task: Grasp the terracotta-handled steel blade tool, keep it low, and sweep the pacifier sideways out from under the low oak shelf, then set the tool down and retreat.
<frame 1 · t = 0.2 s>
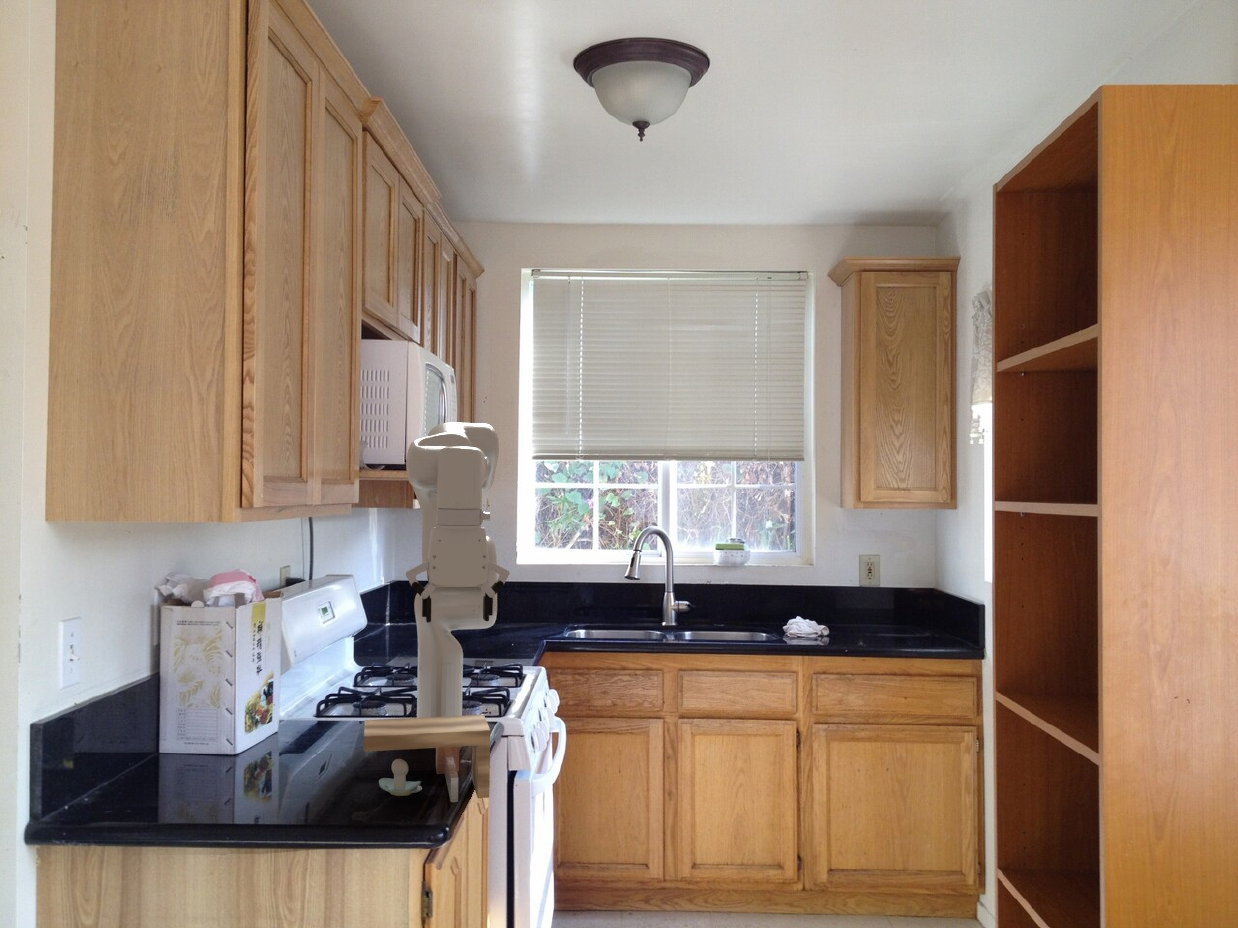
hand: (457, 620, 161), 31 cm above the counter, fingers open, 9 cm apart
blade tool: (447, 769, 178), on the counter
pacifier: (402, 793, 165), on the counter
oak shelf: (425, 791, 166), on the counter
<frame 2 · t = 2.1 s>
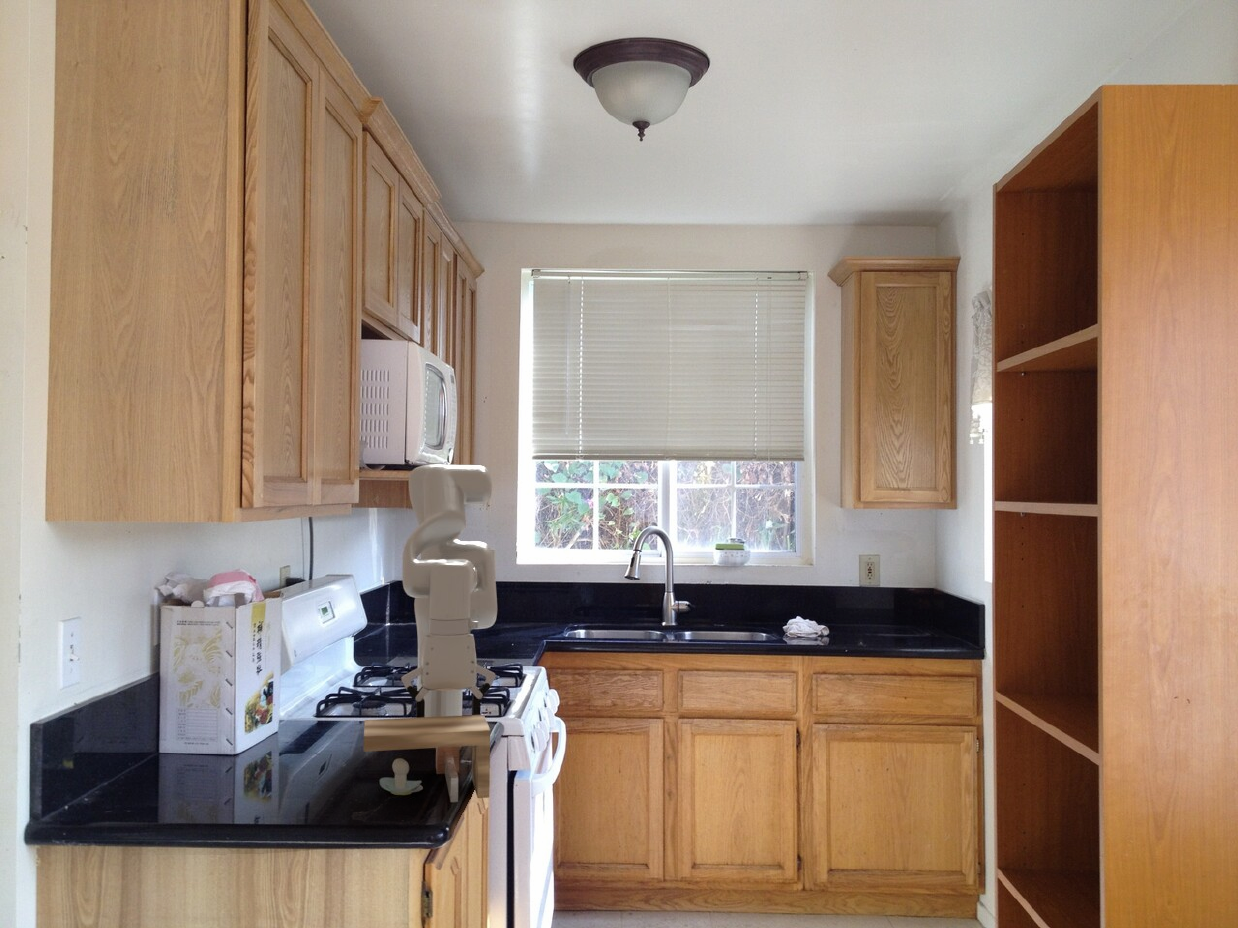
hand: (448, 720, 177), 9 cm above the counter, fingers open, 9 cm apart
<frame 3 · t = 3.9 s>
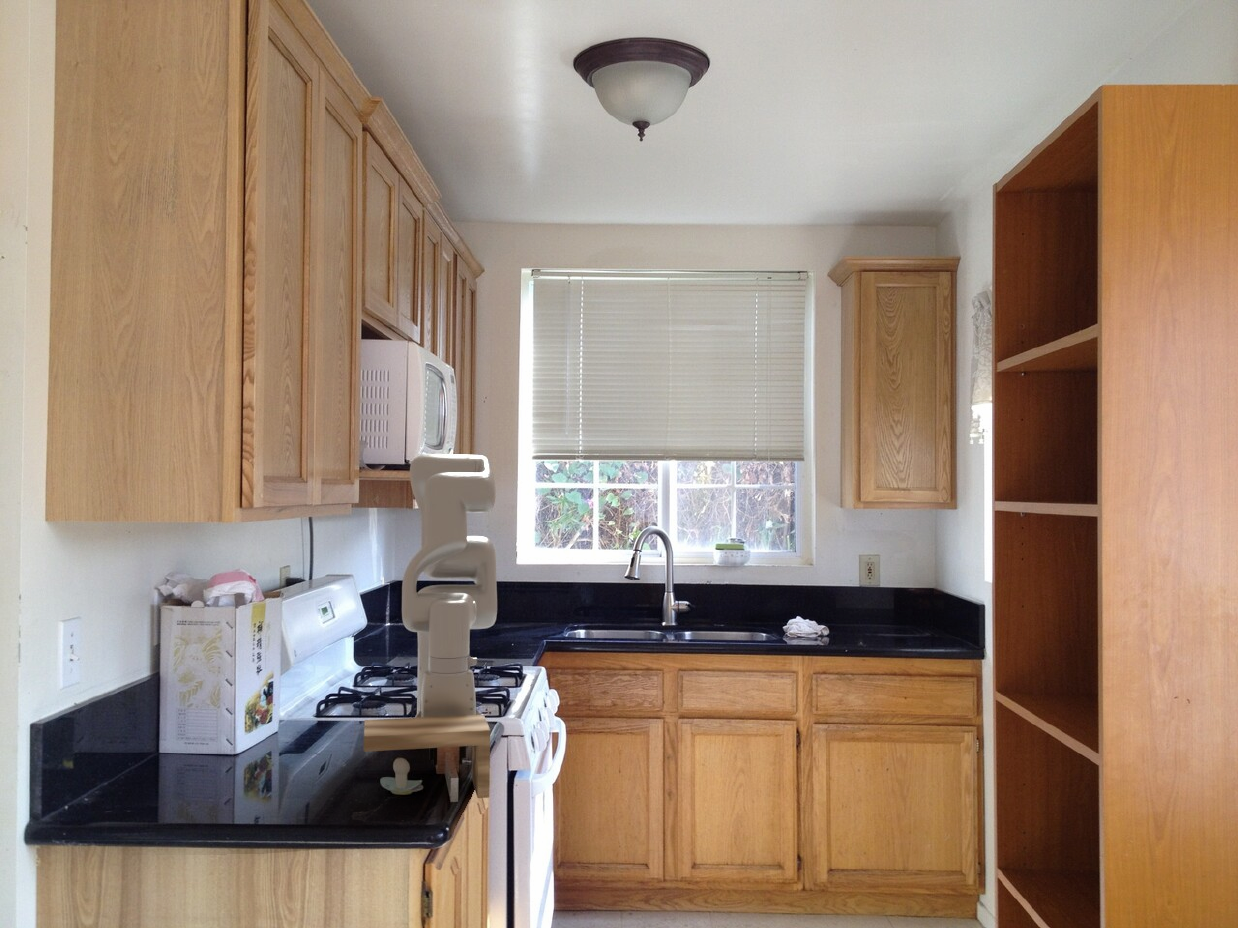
hand: (447, 761, 178), 2 cm above the counter, fingers closed on blade tool, 4 cm apart
blade tool: (447, 769, 178), on the counter, touching gripper
everything else where it was.
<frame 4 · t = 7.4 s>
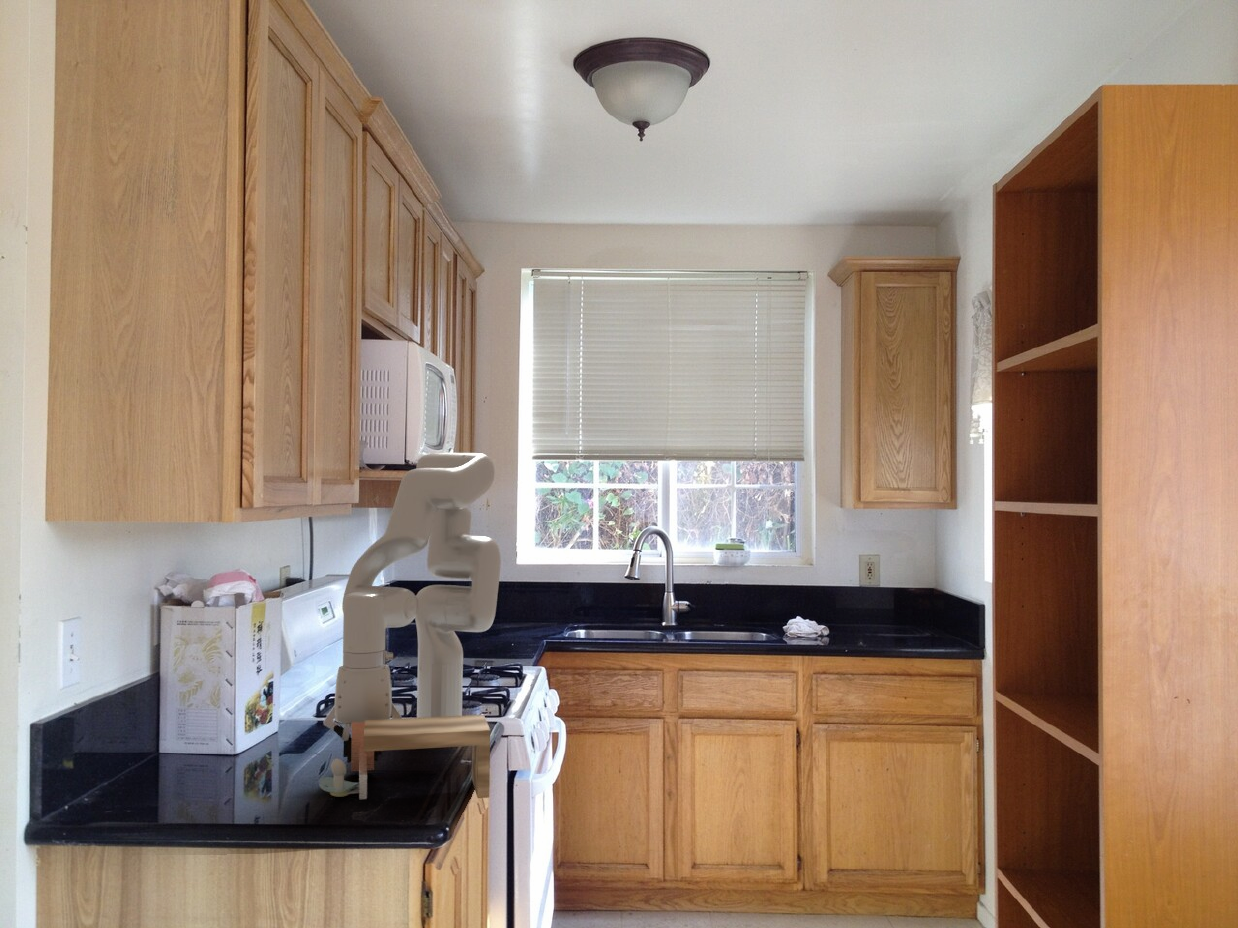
hand: (362, 758, 174), 3 cm above the counter, fingers closed on blade tool, 4 cm apart
blade tool: (362, 767, 174), point 1 cm above the counter, touching gripper, pacifier
pacifier: (342, 793, 164), on the counter, touching blade tool
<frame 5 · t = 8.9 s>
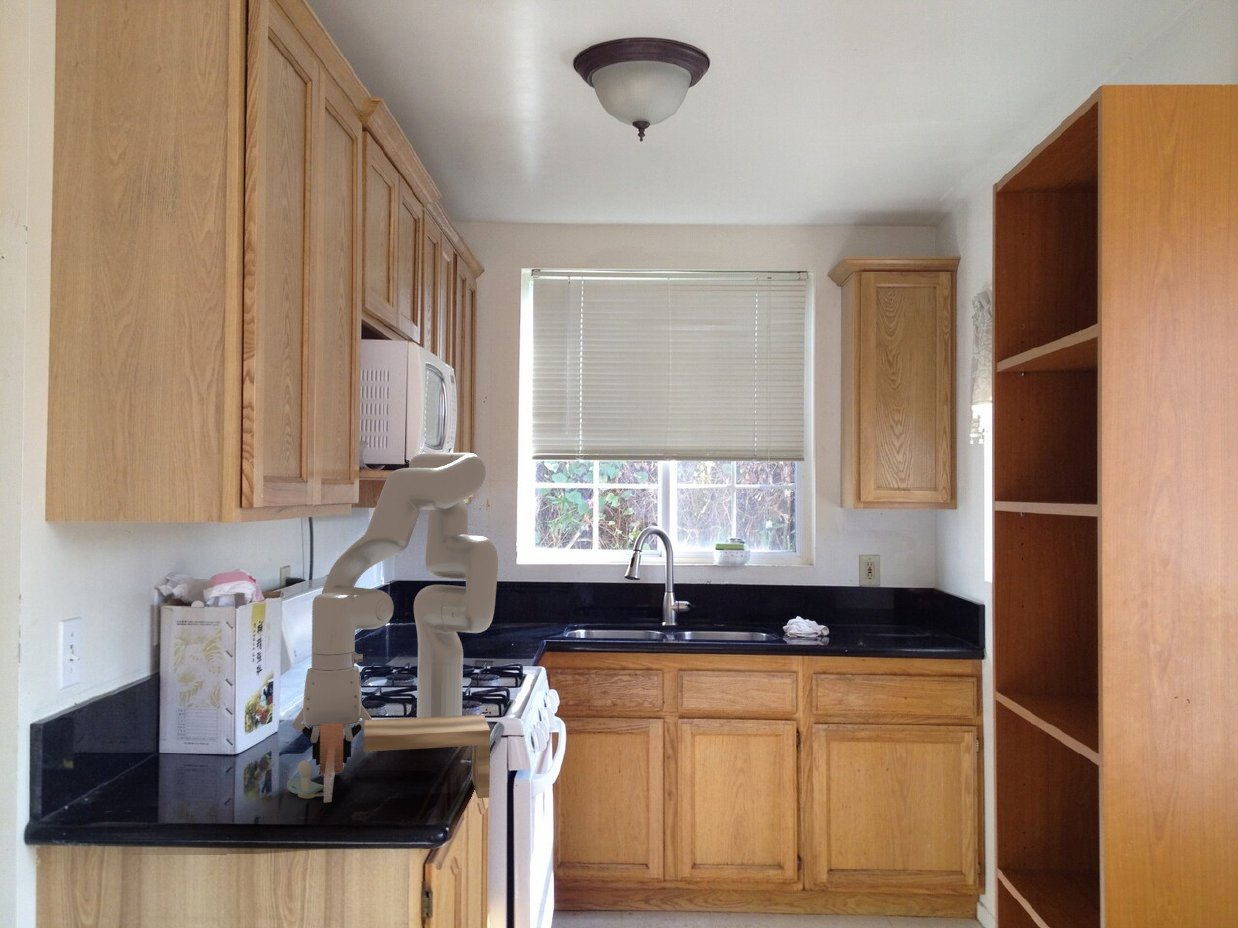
hand: (331, 760, 173), 3 cm above the counter, fingers closed on blade tool, 4 cm apart
blade tool: (331, 769, 173), point 1 cm above the counter, touching gripper
pacifier: (310, 796, 163), on the counter
when the fingers open (2 cm above the counter, at t = 10.5 s): blade tool stays where it is, on the counter.
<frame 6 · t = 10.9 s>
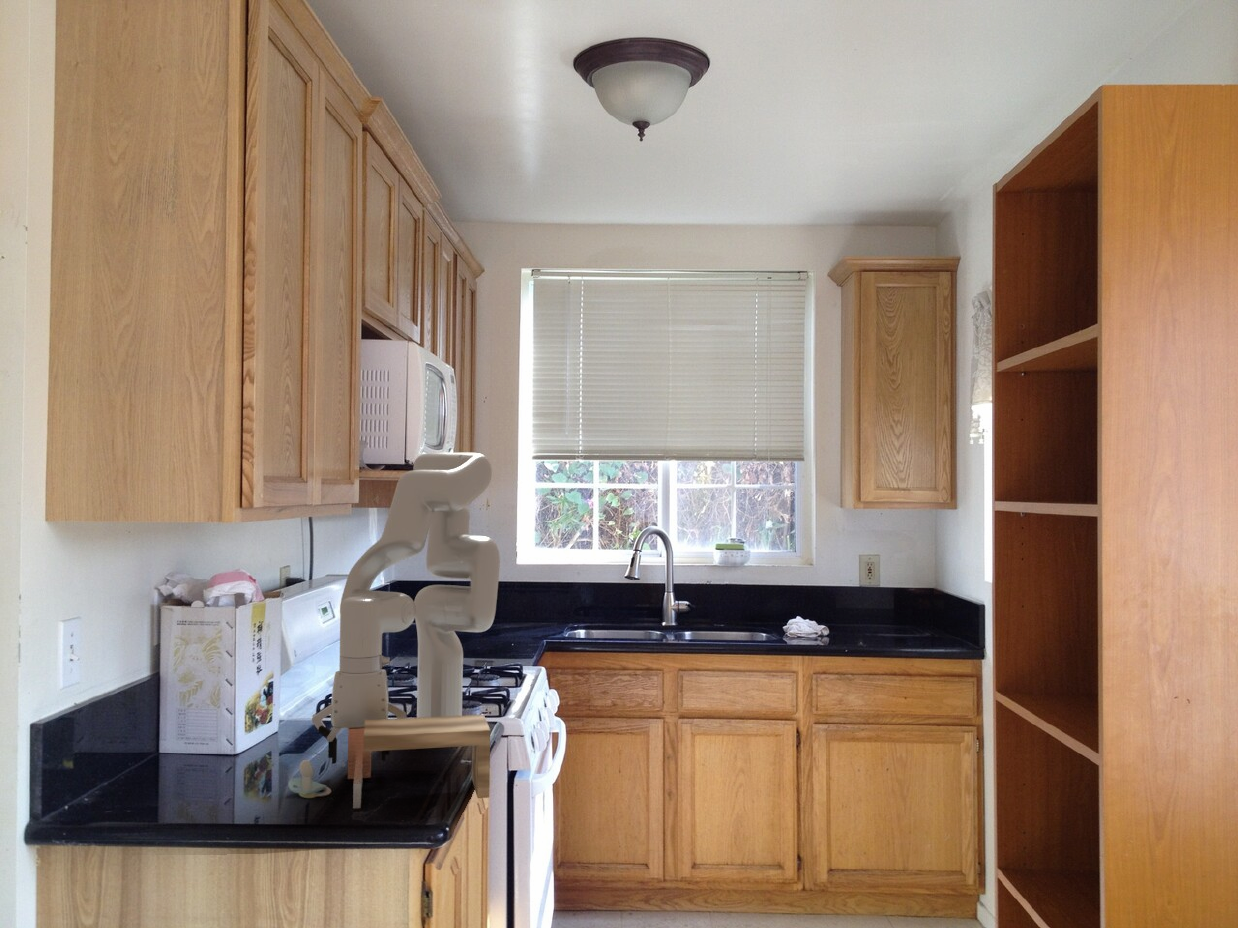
hand: (359, 759, 174), 3 cm above the counter, fingers open, 8 cm apart
blade tool: (359, 774, 174), on the counter
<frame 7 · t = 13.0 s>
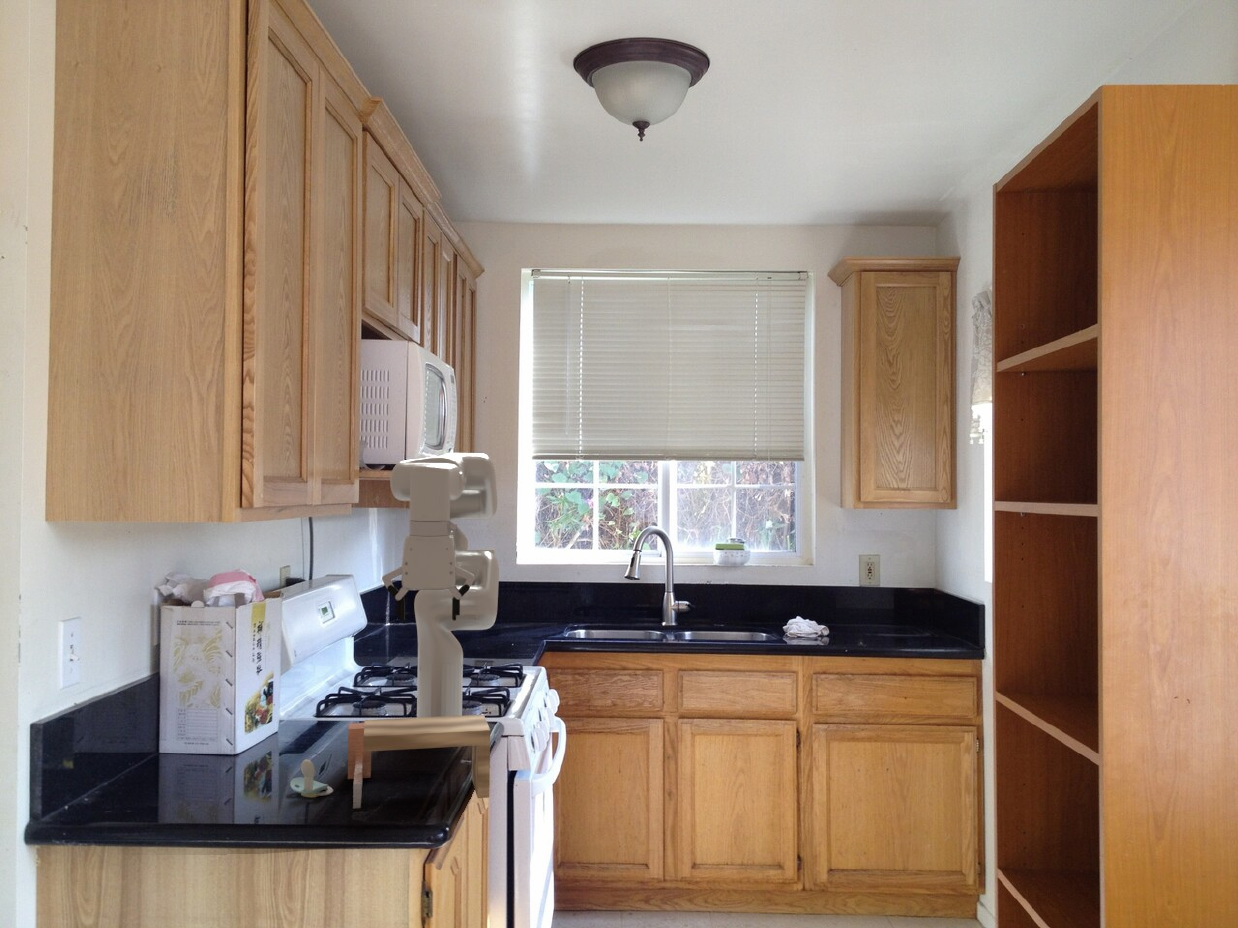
hand: (428, 619, 181), 28 cm above the counter, fingers open, 9 cm apart
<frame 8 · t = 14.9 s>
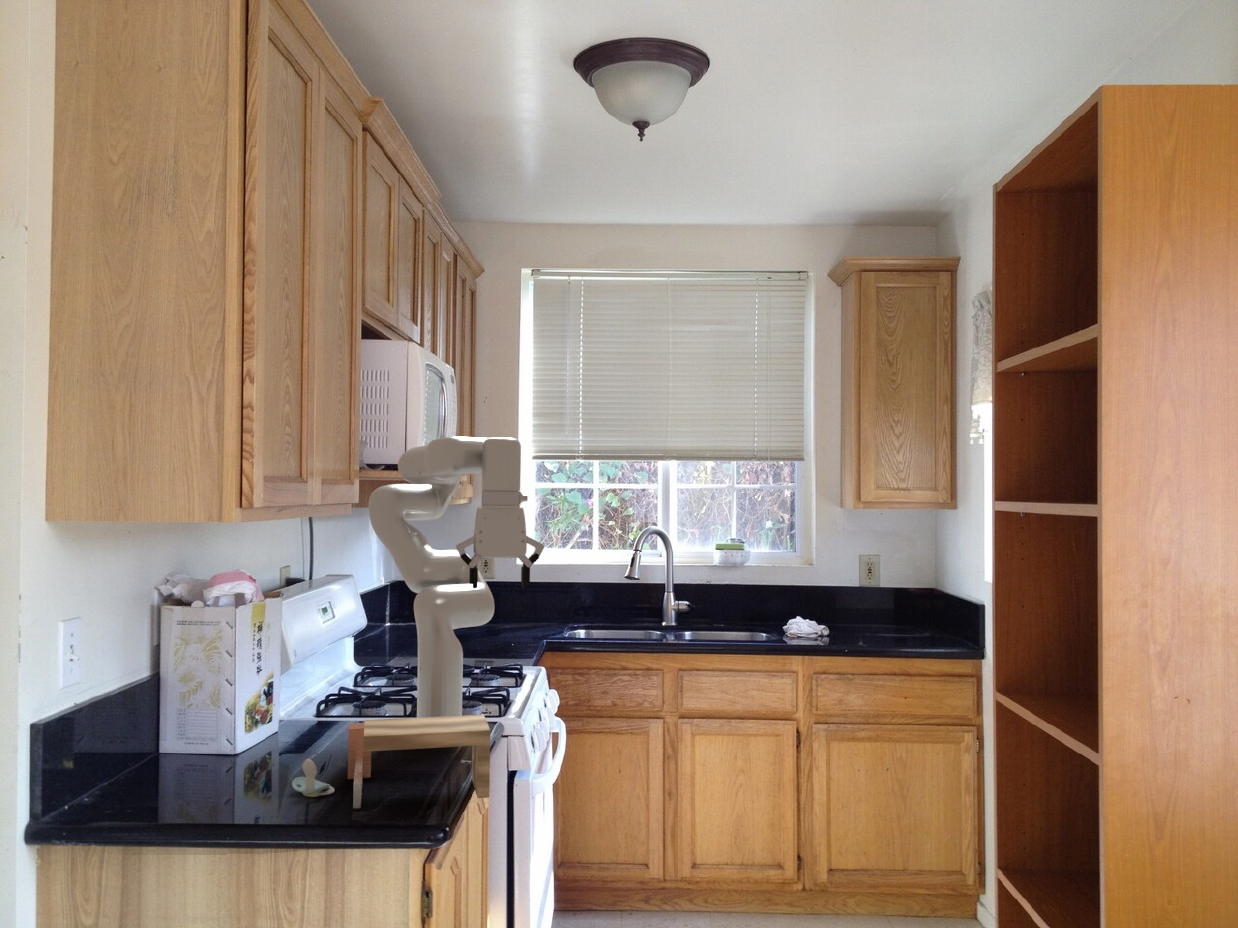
hand: (499, 587, 187), 33 cm above the counter, fingers open, 9 cm apart
at the end: pacifier inside the target area (6.5 cm from its centre), on the counter; pacifier moved 14.8 cm from its start; the gripper is holding nothing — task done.
